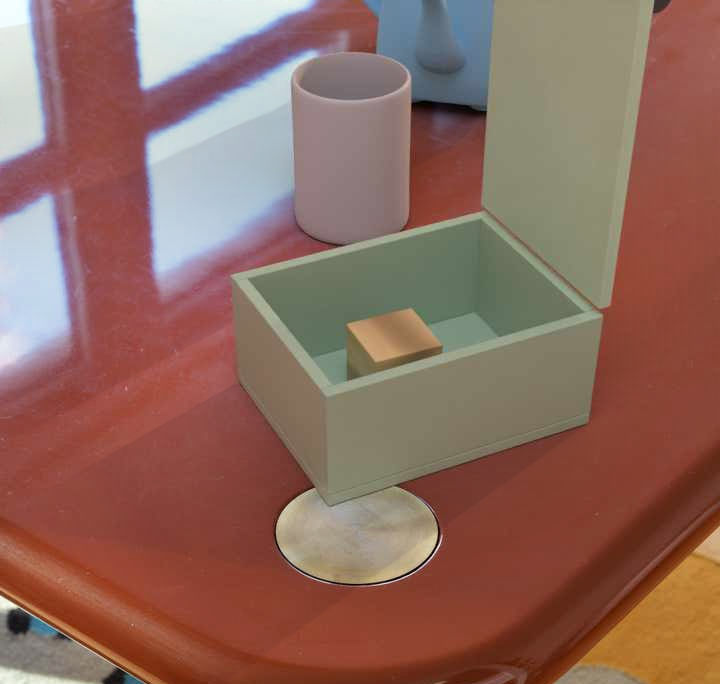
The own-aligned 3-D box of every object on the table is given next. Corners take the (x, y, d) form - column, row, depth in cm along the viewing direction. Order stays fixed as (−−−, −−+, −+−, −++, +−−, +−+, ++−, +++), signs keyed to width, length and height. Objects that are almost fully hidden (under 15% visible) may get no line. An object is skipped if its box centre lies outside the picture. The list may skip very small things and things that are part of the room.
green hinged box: (328, 506, 78) (326, 396, 72) (238, 380, 87) (229, 274, 81) (589, 423, 83) (604, 315, 78) (478, 313, 92) (485, 209, 87)
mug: (425, 235, 100) (430, 92, 92) (314, 255, 98) (310, 109, 90) (372, 163, 108) (373, 26, 101) (269, 179, 106) (262, 41, 99)
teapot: (332, 64, 122) (329, -94, 113) (494, 34, 127) (504, -120, 118) (419, 150, 110) (423, -19, 101) (594, 113, 115) (614, -51, 106)
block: (375, 422, 82) (375, 361, 79) (346, 382, 85) (345, 323, 82) (440, 404, 83) (443, 344, 80) (410, 366, 86) (411, 307, 83)
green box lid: (644, -17, 65) (728, -34, 67) (500, -101, 74) (577, -114, 76) (599, 310, 78) (671, 289, 79) (480, 204, 87) (547, 188, 88)
